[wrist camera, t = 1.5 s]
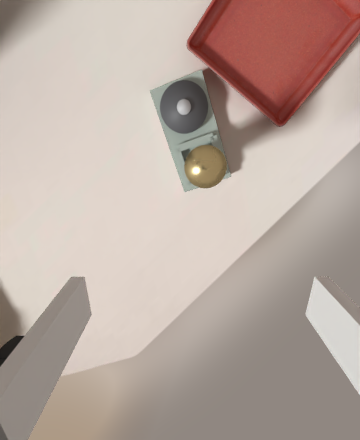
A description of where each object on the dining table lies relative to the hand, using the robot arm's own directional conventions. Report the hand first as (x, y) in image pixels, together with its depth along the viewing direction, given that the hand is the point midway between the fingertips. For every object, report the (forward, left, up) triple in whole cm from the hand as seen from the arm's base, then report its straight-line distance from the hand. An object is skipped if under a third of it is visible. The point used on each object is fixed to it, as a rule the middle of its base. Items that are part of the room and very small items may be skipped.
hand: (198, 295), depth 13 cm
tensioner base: (-10, +3, -28) cm, 30 cm away
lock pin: (-6, +3, -26) cm, 27 cm away
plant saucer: (-19, +18, -29) cm, 39 cm away
